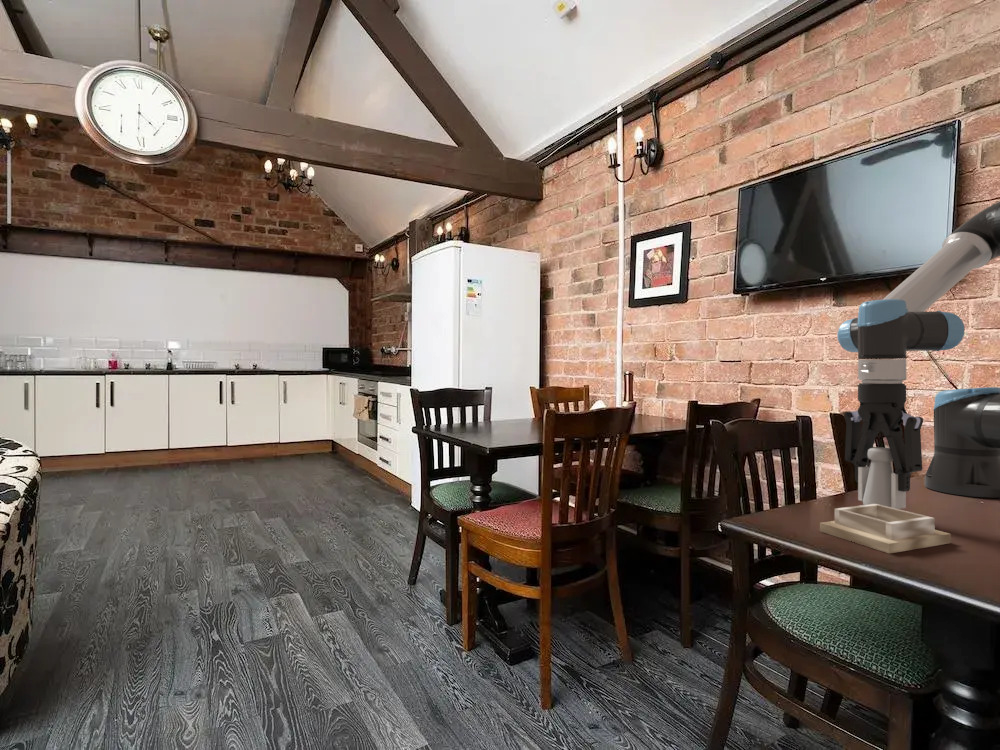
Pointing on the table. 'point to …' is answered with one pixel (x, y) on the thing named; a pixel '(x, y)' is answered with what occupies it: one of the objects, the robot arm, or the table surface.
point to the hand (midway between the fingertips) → (881, 503)
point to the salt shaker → (879, 477)
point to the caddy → (885, 528)
